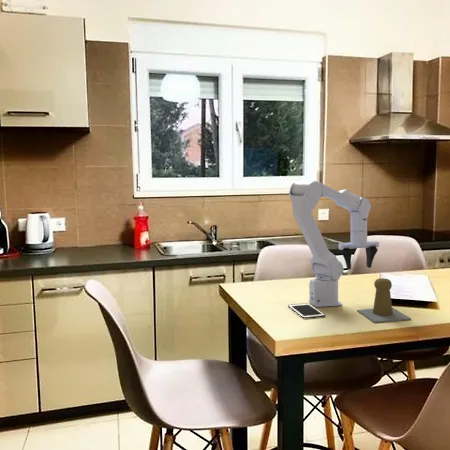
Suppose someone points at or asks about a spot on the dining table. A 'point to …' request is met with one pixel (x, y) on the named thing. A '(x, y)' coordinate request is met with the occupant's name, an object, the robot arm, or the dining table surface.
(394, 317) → the slate mat
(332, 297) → the robot arm
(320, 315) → the cell phone
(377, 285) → the cork
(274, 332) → the dining table surface
